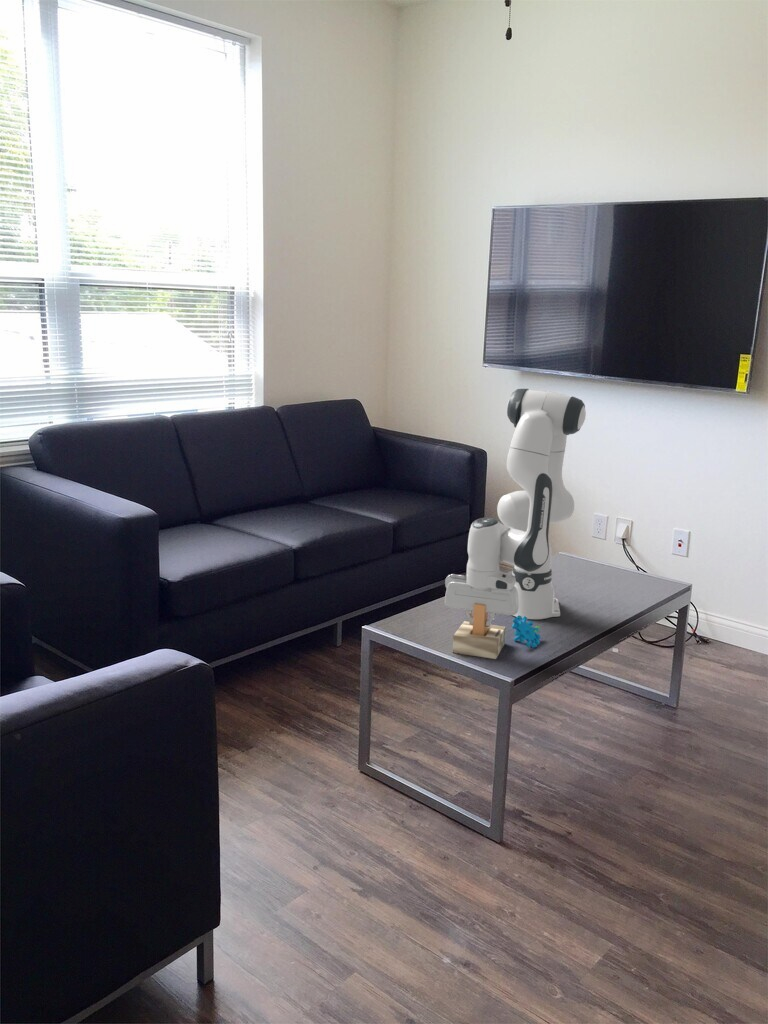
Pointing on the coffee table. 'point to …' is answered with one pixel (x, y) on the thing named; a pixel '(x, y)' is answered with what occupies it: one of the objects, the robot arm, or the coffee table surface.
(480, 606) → the key peg
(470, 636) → the block
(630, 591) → the coffee table surface
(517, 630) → the gear
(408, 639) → the coffee table surface
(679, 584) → the coffee table surface
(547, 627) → the coffee table surface
